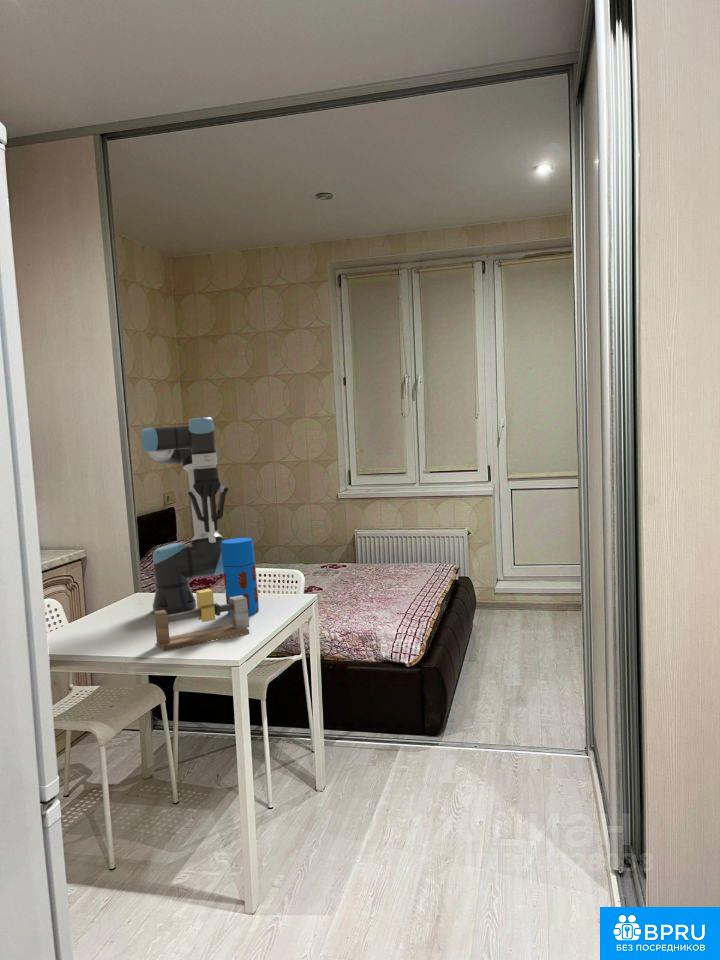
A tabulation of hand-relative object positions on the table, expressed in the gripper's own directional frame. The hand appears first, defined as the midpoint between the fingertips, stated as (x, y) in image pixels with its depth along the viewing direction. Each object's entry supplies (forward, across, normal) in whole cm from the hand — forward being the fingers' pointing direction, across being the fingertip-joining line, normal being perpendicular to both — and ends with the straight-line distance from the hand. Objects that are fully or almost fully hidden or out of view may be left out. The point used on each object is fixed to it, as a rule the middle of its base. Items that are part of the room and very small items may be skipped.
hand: (212, 541), depth 236 cm
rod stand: (+28, -7, -7) cm, 30 cm away
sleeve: (+22, -5, -7) cm, 24 cm away
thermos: (+29, +12, +16) cm, 35 cm away
